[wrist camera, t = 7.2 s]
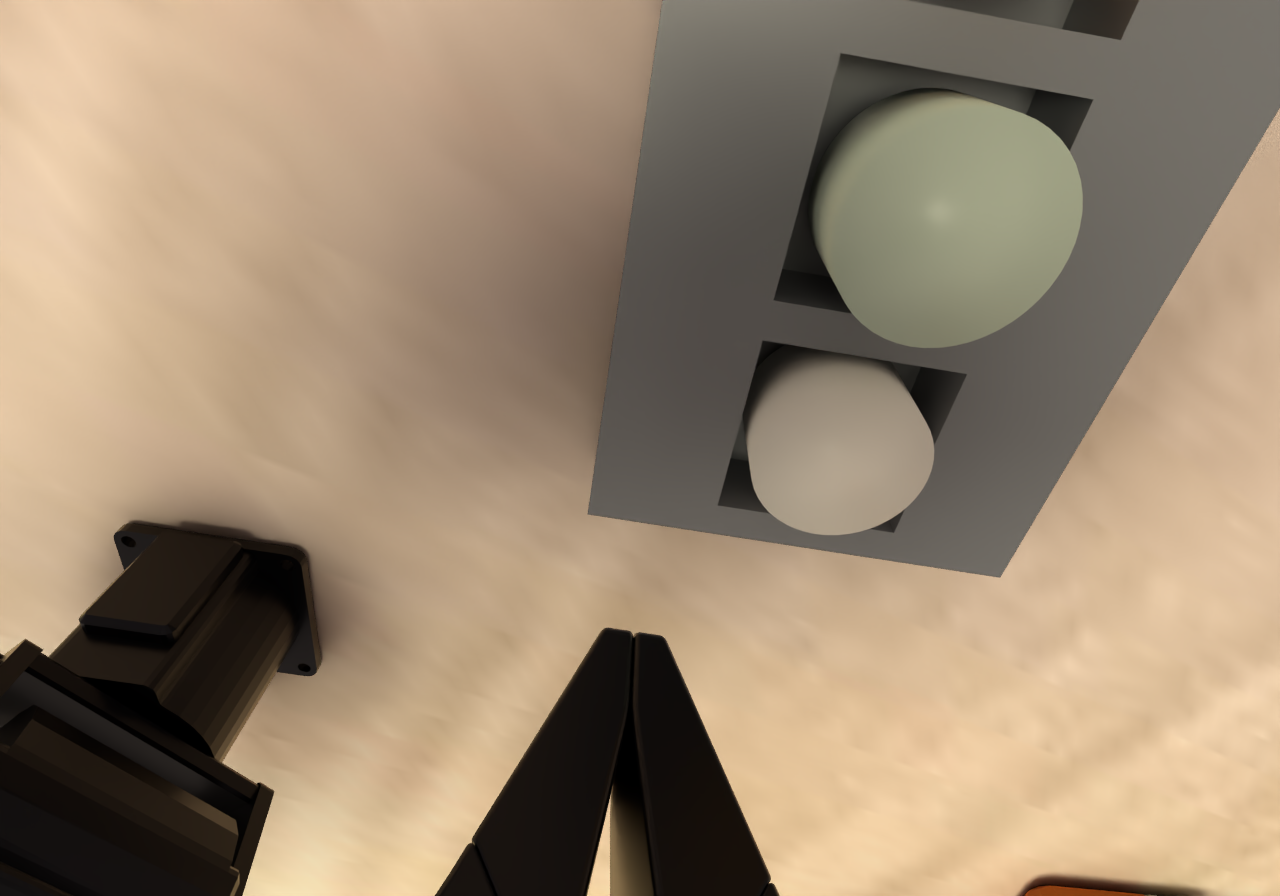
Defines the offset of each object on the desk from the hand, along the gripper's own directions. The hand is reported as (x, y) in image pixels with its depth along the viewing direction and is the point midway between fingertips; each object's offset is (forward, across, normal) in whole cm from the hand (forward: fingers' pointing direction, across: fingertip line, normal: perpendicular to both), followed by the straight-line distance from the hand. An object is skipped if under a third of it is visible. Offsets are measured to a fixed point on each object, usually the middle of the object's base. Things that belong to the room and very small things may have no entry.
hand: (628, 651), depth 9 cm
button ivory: (+11, -5, +2) cm, 12 cm away
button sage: (+10, -5, -4) cm, 12 cm away
